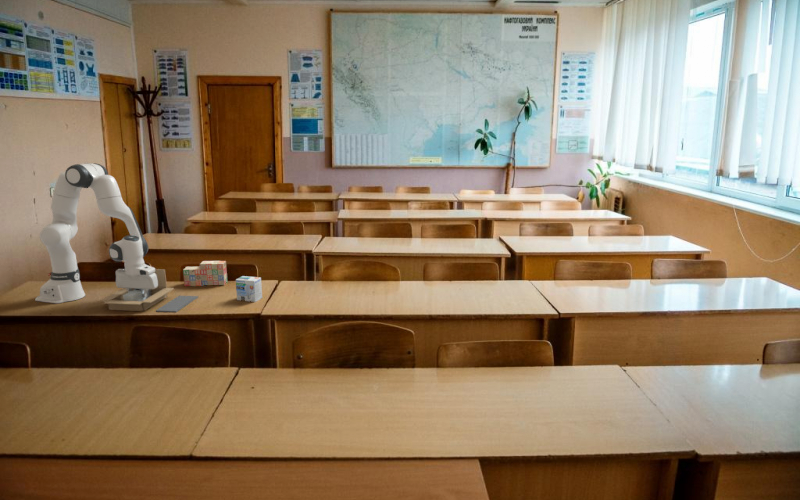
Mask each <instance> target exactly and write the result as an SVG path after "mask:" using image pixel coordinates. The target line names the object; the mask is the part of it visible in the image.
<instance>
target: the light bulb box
mask: <svg viewBox="0 0 800 500" xmlns="http://www.w3.org/2000/svg"><path fill="white" fill-rule="evenodd" d="M235 287H236V288H235V290H236V292H235V293H236V300H237V301H241V300H245V301H244V302H250V301H251V302H252V303H257V302H258V301H260V300H261V298H262V299H263V289H262V288H263V287H262V277H258V276H247V275H246V276H245V275H242V276H240V277H238V278H236V279H235Z"/></svg>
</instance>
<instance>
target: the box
mask: <svg viewBox="0 0 800 500" xmlns="http://www.w3.org/2000/svg"><path fill="white" fill-rule="evenodd" d="M143 293H144V291H143V289H134V290H132V291H130V292H128V293H126V294H124V295H123V298H124V301H143V300H145V299H147V298H148V297H150V296H151V289H148V292H147V297H142V294H143Z"/></svg>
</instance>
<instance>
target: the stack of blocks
mask: <svg viewBox="0 0 800 500" xmlns="http://www.w3.org/2000/svg"><path fill="white" fill-rule="evenodd" d="M227 271H228V270H227V261H226V260H203V261H201V263H199V266H185V268H183V270H182V274H183V275H182V276H183V282H184V287H204V286H203V285H225V283H226V282H227V283H228V273H227ZM227 283H226V284H227ZM225 286H226V285H225Z"/></svg>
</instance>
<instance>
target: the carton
mask: <svg viewBox="0 0 800 500" xmlns="http://www.w3.org/2000/svg"><path fill="white" fill-rule="evenodd" d="M154 273H155V274H156V276H157V280H158V286H157V288H155V289H151V296H150V297H148V298H147V299H145V300H143V301H124V298H123V295H124V294H126V293H128V291H127V288H120V289H119V290H116V291H115V292H113V293H111V294H109V295H107V296H106V297H104V298H102V299H100V300H99V302H103V304H104V305H106V304H107V305H108V306H107V307H108V310H109V311H112V310H113V311H130V312H131V311H134V312H137V311H138V312H145V311H146V310H148V309H149V308H151V307H153V306H155V305H157V304H158V303H159V302H161V301H162V300H164V299H166V298H168V293H170V292H172V291H173V290H174V289H175V288H174V287H168V285H167V277H166V269H160V268H158V269H157V268H155V272H154ZM131 290H134V288H132V289H131Z"/></svg>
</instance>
